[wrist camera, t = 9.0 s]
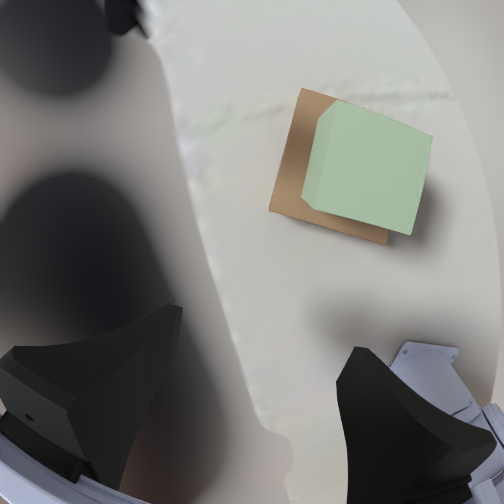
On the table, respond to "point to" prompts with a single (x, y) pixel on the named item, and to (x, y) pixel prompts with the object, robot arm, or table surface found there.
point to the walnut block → (295, 170)
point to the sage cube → (367, 167)
